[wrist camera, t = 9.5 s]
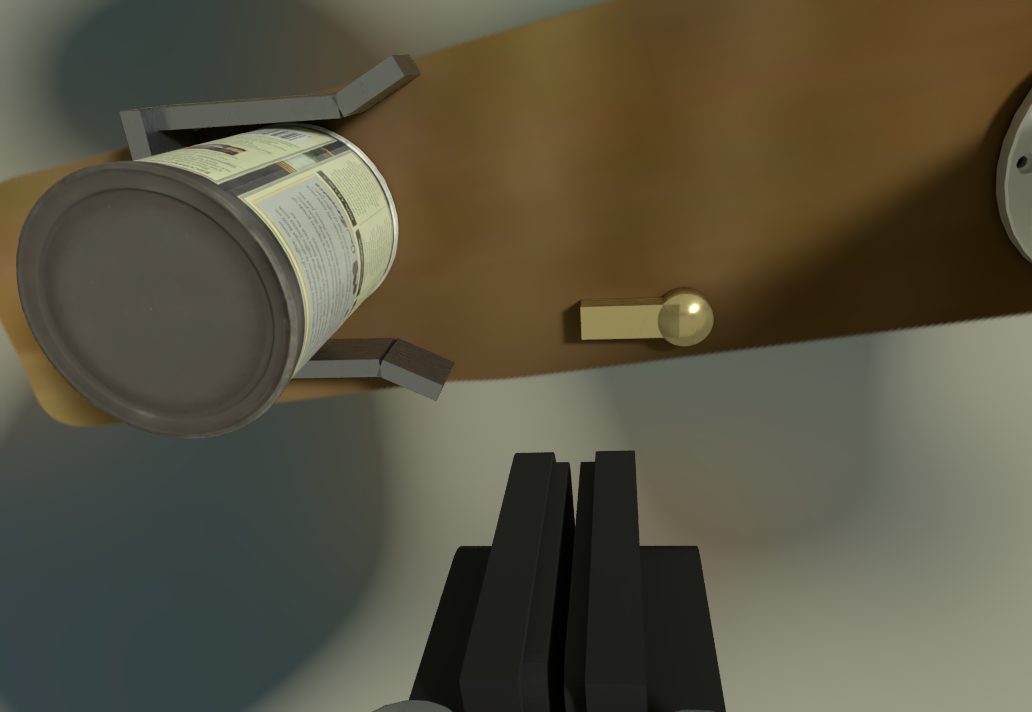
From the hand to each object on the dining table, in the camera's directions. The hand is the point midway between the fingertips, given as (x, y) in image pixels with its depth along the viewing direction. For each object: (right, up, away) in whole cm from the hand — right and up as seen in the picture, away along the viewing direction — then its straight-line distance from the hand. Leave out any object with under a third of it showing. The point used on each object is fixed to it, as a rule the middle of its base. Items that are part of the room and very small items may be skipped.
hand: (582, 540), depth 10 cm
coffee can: (-12, +10, +28) cm, 32 cm away
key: (+5, +5, +28) cm, 29 cm away
